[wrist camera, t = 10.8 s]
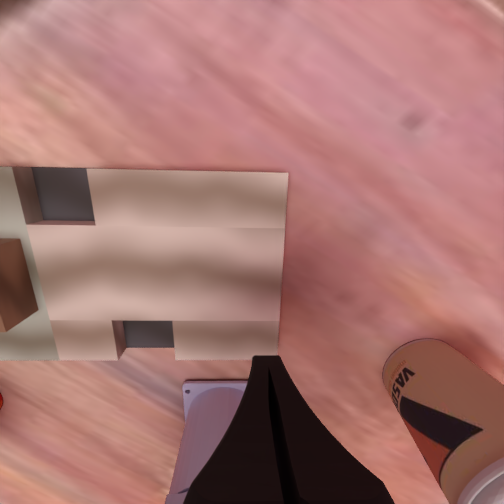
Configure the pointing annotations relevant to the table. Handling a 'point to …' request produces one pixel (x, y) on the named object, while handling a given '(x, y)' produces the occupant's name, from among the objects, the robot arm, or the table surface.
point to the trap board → (146, 261)
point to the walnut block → (14, 285)
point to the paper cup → (1, 401)
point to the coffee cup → (451, 418)
